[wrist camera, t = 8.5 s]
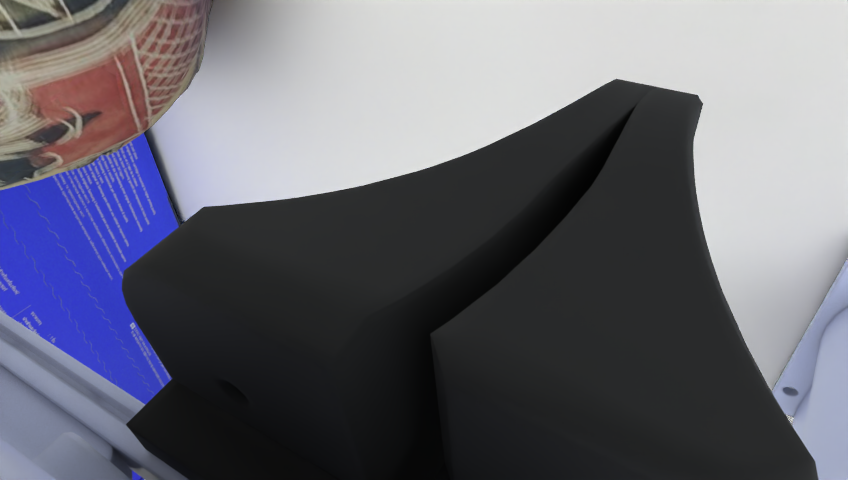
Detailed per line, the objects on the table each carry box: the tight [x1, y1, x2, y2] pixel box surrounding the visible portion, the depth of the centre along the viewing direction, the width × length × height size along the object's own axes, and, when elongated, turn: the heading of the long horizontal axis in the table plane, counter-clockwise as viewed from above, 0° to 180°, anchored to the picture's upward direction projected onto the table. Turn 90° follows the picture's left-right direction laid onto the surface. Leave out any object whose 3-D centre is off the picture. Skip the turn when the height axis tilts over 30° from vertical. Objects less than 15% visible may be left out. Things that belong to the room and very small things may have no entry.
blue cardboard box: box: [0, 133, 181, 480], centre depth 45 cm, size 39×8×18 cm, turn 178°
